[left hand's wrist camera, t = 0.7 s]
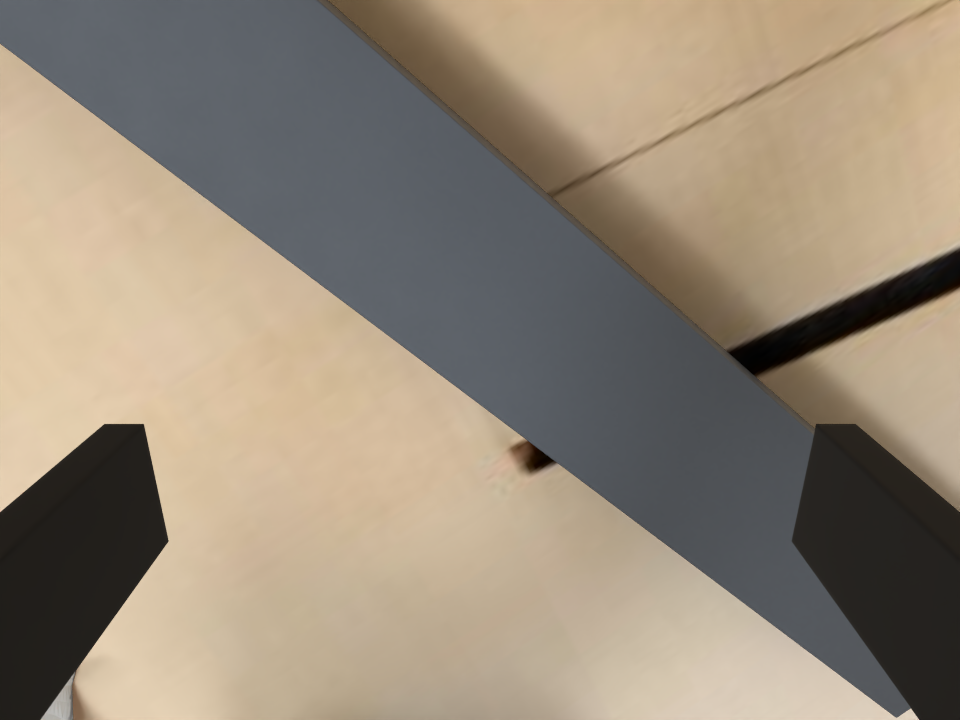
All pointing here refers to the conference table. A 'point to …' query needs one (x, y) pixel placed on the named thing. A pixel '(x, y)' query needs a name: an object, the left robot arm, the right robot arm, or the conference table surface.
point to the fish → (62, 704)
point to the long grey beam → (460, 272)
